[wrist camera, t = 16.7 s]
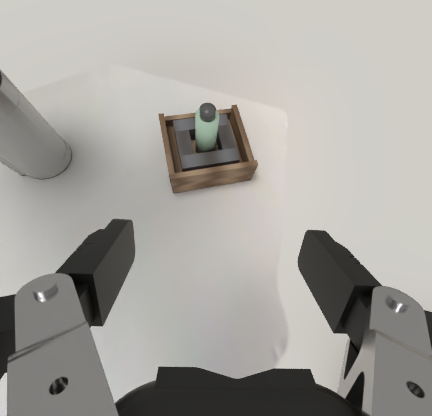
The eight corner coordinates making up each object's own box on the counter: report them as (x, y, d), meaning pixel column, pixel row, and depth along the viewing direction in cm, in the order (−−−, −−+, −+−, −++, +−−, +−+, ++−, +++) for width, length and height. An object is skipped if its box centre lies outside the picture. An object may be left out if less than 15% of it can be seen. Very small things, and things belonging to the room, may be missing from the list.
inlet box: (173, 193, 44) (169, 179, 39) (161, 127, 49) (156, 106, 44) (250, 179, 47) (258, 164, 41) (231, 118, 52) (236, 97, 46)
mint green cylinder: (197, 160, 46) (198, 120, 35) (193, 143, 47) (193, 100, 36) (216, 157, 47) (222, 117, 36) (212, 140, 48) (217, 98, 37)
